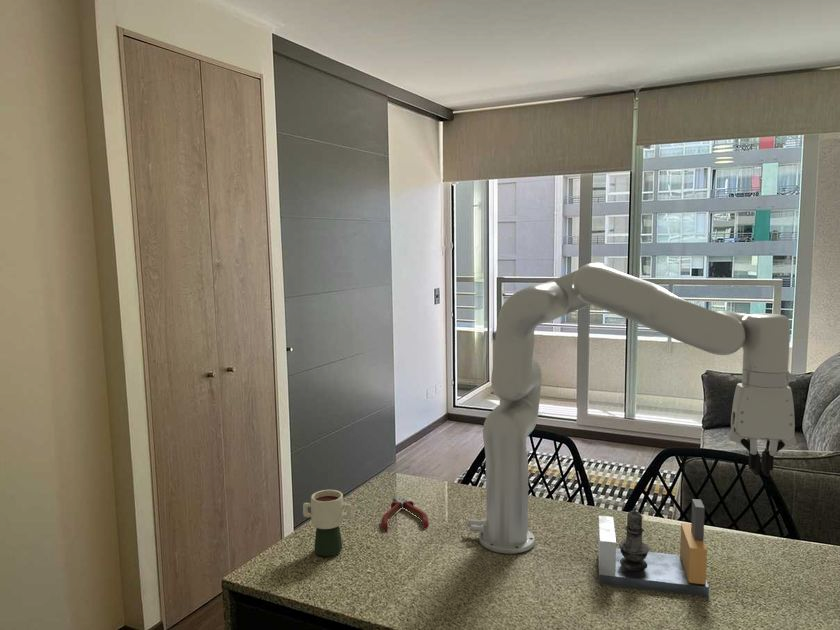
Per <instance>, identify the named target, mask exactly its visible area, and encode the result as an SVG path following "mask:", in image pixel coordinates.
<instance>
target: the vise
mask: <svg viewBox="0 0 840 630" xmlns="http://www.w3.org/2000/svg"><path fill="white" fill-rule="evenodd" d="M597 524H598V527H597V529H598V530H597V531H598V532H597V535H598V536H597V537H598V538H597V542H598V543H597V561H598V562H597V563H598V581H599V582H598V583H599V585H602V586H603V585H605V586H610V587H611V586H612V587H620V588H629V589H638V590H644V591H645V590H646V591H652V592H653V591H654V592H662V593H663V592H664V593H670V594H679V595H687V596H695V597H704V598H705V597H706V598H709V595H710V594H709V593H710V587H709V586H710V585H709V584H708V581H707V580H706V585H705V584H696V583H689V582H688V579H687V575H686V572H685V569H684V566H683V563H682V560H681V557H680V554H674V553H672V554H671V553H664V552H656V551H655V552H654V551H649V552H648V554H647V556H646V558H645V559H644V561H645V562H646V563H647V568H645V569H643V570H632V569H628V568H626V567H624V566H622V565H621V563H620V560H621V559H622V558H624V556H623V555H622V553H621V550H620V548H617V539H616V532H615V531H616V529H615V522H614V516H607V515H598V523H597Z"/></svg>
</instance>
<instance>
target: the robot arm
mask: <svg viewBox="0 0 840 630" xmlns="http://www.w3.org/2000/svg"><path fill="white" fill-rule="evenodd" d="M590 306H593V307H595V308H598V309H600V310H603V311H607V312H609V313H612V314H615V315H616V316H619V317H622V318H624V319H626V320H629V321H632V322H634V323H637V324H639V325H642V326H644V327H646V328H648V329H650V330H652V331H655V332H658V333H660V334H662V335H665V336H667V337H670V338H671V339H674V340H676V341H678V342H681V343H683V344H686V345H688V346H691V347H694V348H696V349H699V350H700V351H701V350H702V351H704V352H706V353H710V354H713V355H716V356H717V355H718V356H729V355H732V354H734V353H737V352H738V351H739V350H740V349H741V348H742V350H743V353H742V376H741V382H738V383H737V384H736V386H735V391H734V396H733V401H732V409H731V417H730V428H731V429H730V430H729V433H728V435H727V436H728V437H727V439H729V440H730V441H731V442H734V443H736V444H740V445H742V446H743V447H744V448H745V449H746V450H747V451H748V469H750V470H751V472H752V473H753V474H754V476H759V475H760V473H761V472H762V473H763V474H764V476H766V477H770V476H771V471H774V457H775V456H776V455H777V453H778V452H779V451H781V450H782V449H783V448H784V447H790V446H793V445H794V446H795V445H796V444H797V439H796V436H795V427H796V423H795V418H796V417H795V407H794V398H793V397H794V396H793V391H792V388H791V387H790V385H789V384H790V383H791V382H796V381H797V374H795V373H790V371H789V361H790V359H789V358H790V340H791V339H790V337H791V321H790V319H789V317H787V316H786V315H784V314H778V313H762V312H761V313H759V312H758V313H752V314H750V313H742V312H734V311H726V310H716V311H715V310H711V309H709V308H706V307H704V306H700V305H698V304H695V303H693V302H690V301H687V300H686V299H684V298H682V297H679V296H677V295H676V294H673V293H672V292H670V290H668V289H666V288H665V287H664V286H661V285H659V284H656V283H654V282H651V281H648V280H645V279H642V278H639V277H636V276H633V275H631V274H628V273H625V272H622V271H621V270H617V269H615V268H613V267H611V266H610V265H608V264H606V263H604V262H599V261H597V262H590V263H586V264H584V265H582V266H581V267H579V268H578V269H576V270H575V271H572V272H569V273H567V274H564V275H562V276H560V277H557V278H554V279H551V280H549V281H547V282H544V283H537V284H534V285H529V286H528V287H525V288H522V289H520V290H519V291H516V292H515V293H513V294H511V295H510V296H509V297H508V298H507V299H506V300H505V302H504V303H503V304H502V306H501V307H500V310H499V312H498V316H497V321H496V331H495V332H496V333H495V341H494V343H495V344H494V347H493V349H494V351H493V359H492V368H491V369H492V370H491V378H490V379H491V388H492V390H493V393H494V394H495V396H496V397H497V398H499V405H497V406H496V407H495V408H494V409H492V410H491V411H490V412H489V414H488V415H487V417H486V418H485V420H484V424H483V427H482V437H483V438H482V439H483V440H482V441H483V447H484V454H485V457H484V458H485V518H481V519H475V518H467V523H466V524H467V525H466V526H467V528H470V531H471V532H475V533H476V532H477V533H478V532H479V536H478V537H479V538H478V539H479V542H480V544H481V545H482V547H484V548H486V549H487V550H489V551H492V552H495V553H499V554H508V555H509V554H521V553H524V552H527V551H529V550H531V549H532V548H533V547H534V545H535V544H536V542H535V541H536V537H535V534H533V532H532V531H530V530H529V459H528V451H527V438H528V437H529V435H530V434H532V432H533V431H534V429H535V428H536V425H537V423H538V419H539V410H540V400H541V399H540V398H541V390H542V389H541V388H542V369H541V366H540V364H539V362H538V361H537V360H536V358H535V357H534V348H535V330H536V328H537V327H538V326H539V325H543V324H546V323H549V322H552V321H554V320H556V319H558V318H560V317H563V316H566V315H568V314H571V313H573V312H577V311H579V310H582V309H585V308H587V307H590ZM758 440H765V446H764V447H765V448H764V450H762V451H761V455H760V454H759V450H758ZM760 471H761V472H760Z"/></svg>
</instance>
